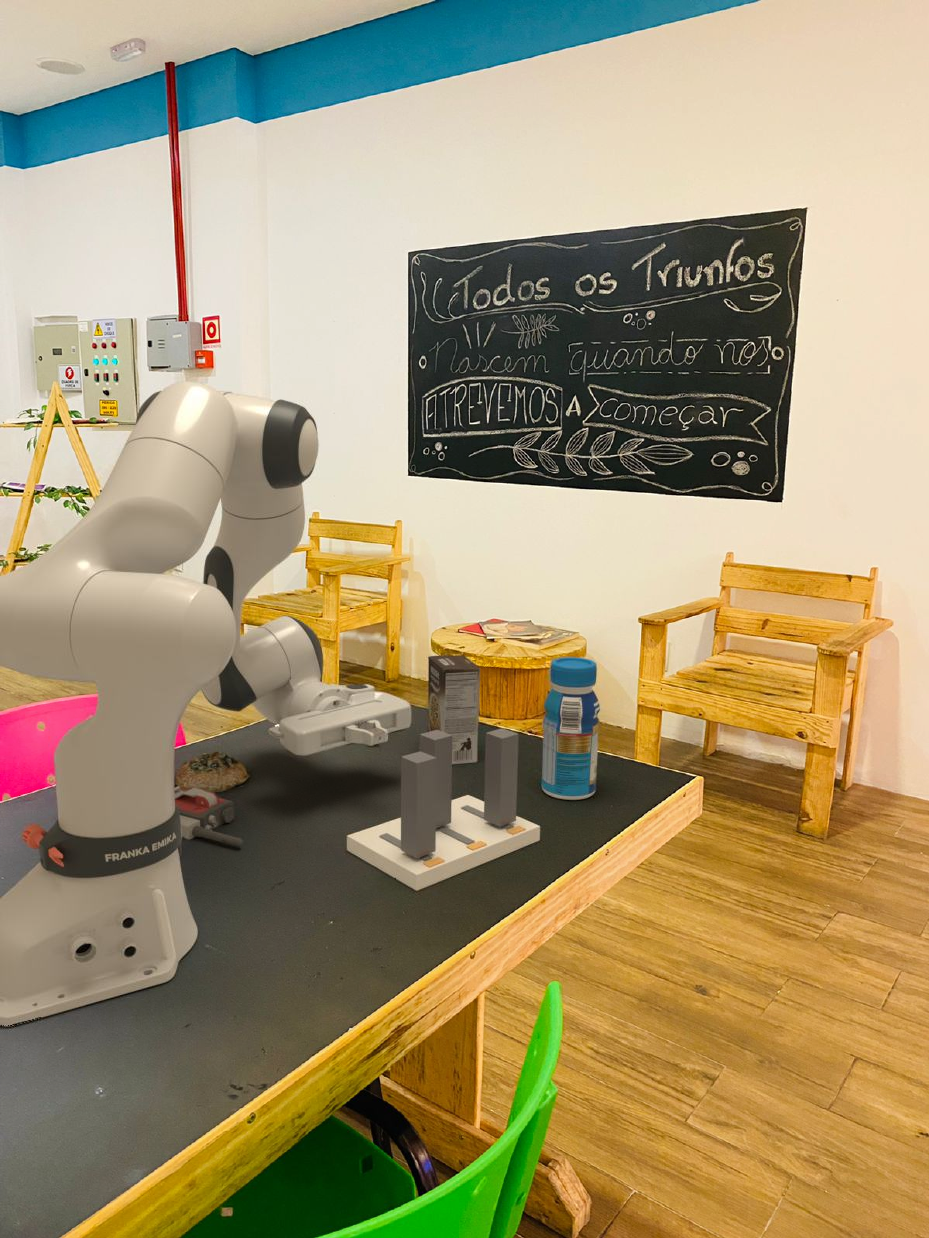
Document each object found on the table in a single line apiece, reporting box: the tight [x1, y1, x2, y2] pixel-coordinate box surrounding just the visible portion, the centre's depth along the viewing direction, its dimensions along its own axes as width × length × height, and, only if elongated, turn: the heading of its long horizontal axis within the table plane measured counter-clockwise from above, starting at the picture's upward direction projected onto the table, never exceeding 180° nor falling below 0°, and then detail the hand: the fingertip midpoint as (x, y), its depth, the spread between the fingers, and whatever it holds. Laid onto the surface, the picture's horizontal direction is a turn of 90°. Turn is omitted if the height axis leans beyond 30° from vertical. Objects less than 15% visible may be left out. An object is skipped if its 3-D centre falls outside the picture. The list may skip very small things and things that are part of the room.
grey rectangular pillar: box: [418, 730, 453, 828], centre depth 119 cm, size 3×3×12 cm
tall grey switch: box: [400, 751, 437, 859], centre depth 111 cm, size 3×3×12 cm
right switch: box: [483, 727, 520, 827], centre depth 120 cm, size 3×3×12 cm
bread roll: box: [174, 750, 250, 794], centre depth 140 cm, size 11×11×5 cm
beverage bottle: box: [541, 656, 601, 801], centre depth 137 cm, size 8×8×20 cm
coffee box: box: [427, 654, 481, 765], centre depth 152 cm, size 9×6×16 cm
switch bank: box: [346, 794, 541, 891], centre depth 119 cm, size 21×14×2 cm, turn 132°
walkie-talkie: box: [174, 786, 244, 846], centre depth 124 cm, size 9×4×20 cm
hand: (379, 738), depth 128 cm, fingers closed
